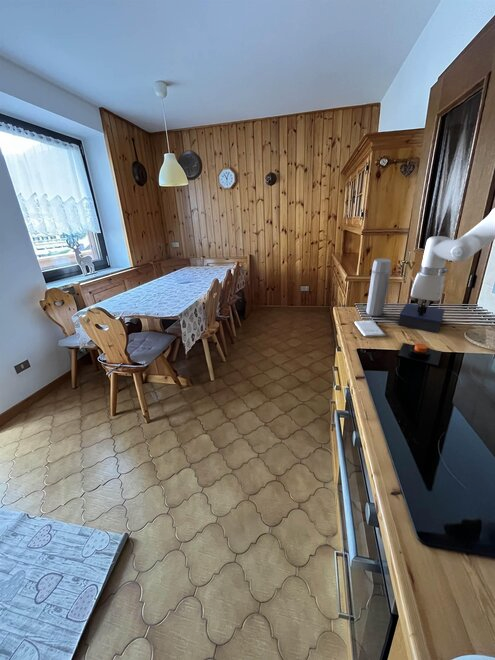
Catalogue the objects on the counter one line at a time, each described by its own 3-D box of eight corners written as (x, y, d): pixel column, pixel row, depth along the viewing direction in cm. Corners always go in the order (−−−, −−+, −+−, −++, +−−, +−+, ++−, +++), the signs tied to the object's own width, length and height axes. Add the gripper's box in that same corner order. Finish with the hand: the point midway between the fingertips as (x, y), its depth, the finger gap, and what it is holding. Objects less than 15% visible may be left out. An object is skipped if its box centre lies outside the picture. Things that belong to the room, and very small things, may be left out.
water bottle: (361, 313, 133) (369, 260, 122) (373, 309, 136) (381, 257, 125) (378, 319, 126) (387, 264, 114) (390, 315, 129) (400, 261, 117)
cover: (440, 323, 109) (441, 321, 109) (399, 315, 118) (399, 314, 117) (444, 311, 120) (444, 309, 119) (406, 304, 128) (406, 303, 127)
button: (427, 349, 98) (428, 345, 97) (425, 354, 95) (426, 349, 94) (415, 346, 100) (416, 342, 99) (413, 351, 97) (414, 346, 96)
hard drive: (373, 323, 123) (385, 337, 112) (354, 324, 123) (364, 338, 112) (373, 320, 122) (385, 333, 111) (354, 321, 122) (364, 334, 111)
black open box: (437, 333, 112) (440, 323, 110) (397, 325, 120) (399, 315, 118) (441, 320, 122) (444, 311, 120) (404, 313, 130) (406, 305, 128)
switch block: (440, 354, 99) (442, 347, 97) (437, 368, 92) (439, 361, 90) (402, 345, 105) (404, 338, 104) (396, 358, 98) (398, 351, 97)
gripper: (456, 270, 106) (443, 314, 114) (411, 266, 114) (402, 307, 122) (454, 275, 101) (441, 321, 109) (407, 270, 109) (399, 314, 117)
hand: (421, 314), depth 116 cm, fingers closed
